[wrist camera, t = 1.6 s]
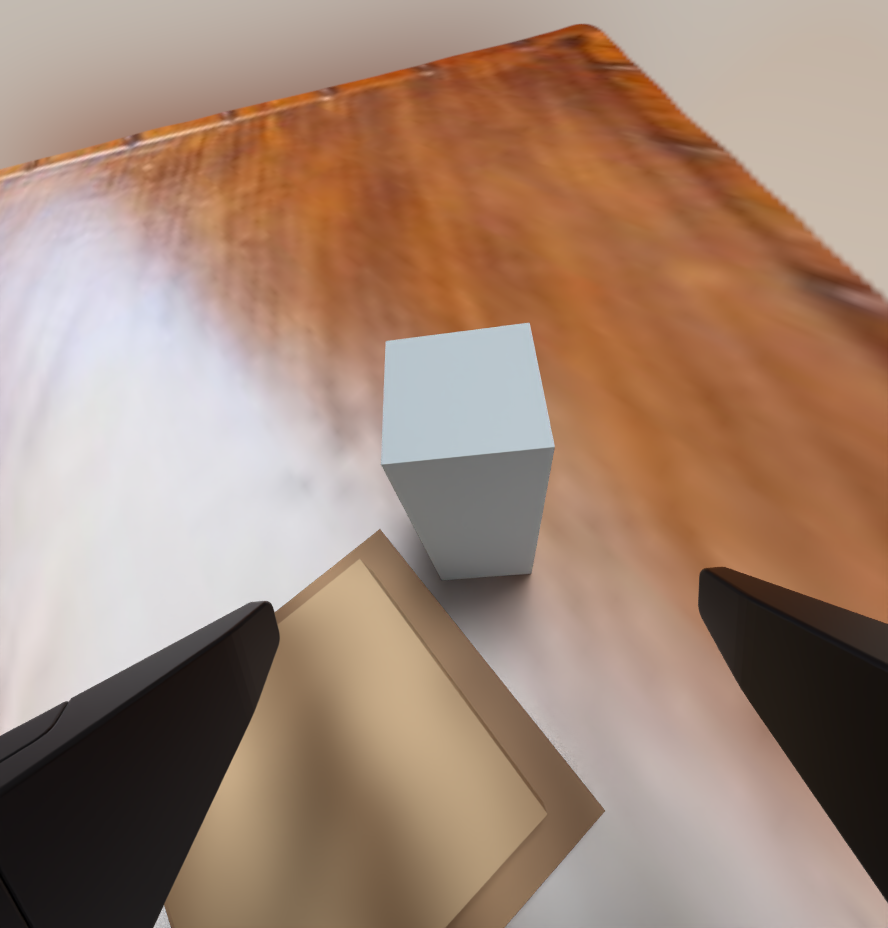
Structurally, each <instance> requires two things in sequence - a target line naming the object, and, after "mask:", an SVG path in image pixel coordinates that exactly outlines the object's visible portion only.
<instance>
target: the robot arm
mask: <svg viewBox="0 0 888 928" xmlns="http://www.w3.org/2000/svg"><path fill="white" fill-rule="evenodd" d="M698 607H699V612H700V615H701V617H702V619H703V621H704V623H705V625H706V627H707V629H708V630H709V632H710V634H711V636H712V638H713V639H714V641H715V643H716V645H717V647H718V649H719V650H720V652H721V654H722V656H723V658H724V660H725V661H726V663H727V665H728V667H729V669H730V670H731V672H732V674H733V676H734V678H735V679H736V681H737V683H738V684H739V686H740V688H741V689H742V691H743V692H744V694H745V695H746V697H747V699H748V700H749V702H750V703H751V704H752V706H753V707H754V709H755V710H756V712H757V713H758V715H759V716H760V718H761V719H762V720H763V722H764V723H765V725H766V726H767V728H768V729H769V731H770V732H771V734H772V735H773V736H774V738H775V739H776V741H777V742H778V744H779V745H780V747H781V748H782V750H783V751H784V753H785V754H786V755H787V757H788V758H789V760H790V761H791V763H792V764H793V766H794V767H795V769H796V770H797V771H798V773H799V774H800V776H801V777H802V779H803V780H804V782H805V783H806V785H807V786H808V787H809V789H810V790H811V792H812V793H813V795H814V796H815V798H816V799H817V801H818V802H819V803H820V805H821V806H822V808H823V809H824V811H825V812H826V814H827V815H828V817H829V818H830V820H831V821H832V822H833V824H834V825H835V827H836V828H837V830H838V831H839V833H840V834H841V836H842V837H843V838H844V840H845V841H846V843H847V844H848V846H849V847H850V849H851V850H852V852H853V853H854V854H855V856H856V857H857V859H858V860H859V862H860V863H861V865H862V866H863V868H864V869H865V870H866V872H867V873H868V875H869V876H870V878H871V879H872V881H873V882H874V884H875V885H876V887H877V888H878V889H879V891H880V892H881V894H882V895H883V897H884V898H885V900H886V901H887V903H888V624H886V623H883V622H880V621H878V620H875V619H872V618H869V617H866V616H863V615H860V614H858V613H855V612H852V611H849V610H846V609H843V608H840V607H838V606H835V605H832V604H829V603H826V602H823V601H820V600H818V599H815V598H812V597H809V596H806V595H803V594H800V593H798V592H795V591H792V590H789V589H786V588H783V587H780V586H778V585H775V584H772V583H769V582H766V581H763V580H760V579H758V578H755V577H752V576H749V575H746V574H743V573H740V572H738V571H735V570H732V569H729V568H726V567H713V568H704V569H703V570H702V571H701V572H700V576H699V597H698ZM279 642H280V633H279V628H278V625H277V621H276V617H275V613H274V609H273V606H272V604H271V603H270V602H268V601H258V602H250V603H248V604H246V605H244V606H242V607H241V608H239V609H237V610H235V611H233V612H231V613H229V614H227V615H226V616H224V617H222V618H220V619H218V620H216V621H214V622H213V623H211V624H209V625H207V626H205V627H203V628H201V629H200V630H198V631H196V632H194V633H192V634H190V635H188V636H186V637H185V638H183V639H181V640H179V641H177V642H175V643H173V644H172V645H170V646H168V647H166V648H164V649H162V650H160V651H159V652H157V653H155V654H153V655H151V656H149V657H147V658H145V659H144V660H142V661H140V662H138V663H136V664H134V665H132V666H131V667H129V668H127V669H125V670H123V671H121V672H119V673H118V674H116V675H114V676H112V677H110V678H108V679H106V680H104V681H103V682H101V683H99V684H97V685H95V686H93V687H91V688H90V689H88V690H86V691H84V692H82V693H80V694H78V695H77V696H75V697H73V698H71V699H70V701H69V702H68V701H66V702H63V703H61V704H60V705H58V706H56V707H54V708H52V709H50V710H48V711H47V712H45V713H43V714H41V715H39V716H37V717H35V718H33V719H31V720H29V721H28V722H26V723H24V724H22V725H20V726H18V727H16V728H14V729H12V730H10V731H9V732H7V733H5V734H3V735H1V736H0V928H153V927H154V925H155V923H156V921H157V919H158V916H159V914H160V912H161V910H162V908H163V906H164V904H165V902H166V899H167V897H168V895H169V893H170V891H171V889H172V887H173V885H174V882H175V880H176V878H177V876H178V874H179V872H180V870H181V868H182V865H183V863H184V861H185V859H186V857H187V855H188V853H189V851H190V849H191V846H192V844H193V842H194V840H195V838H196V836H197V834H198V832H199V829H200V827H201V825H202V823H203V821H204V819H205V817H206V815H207V812H208V810H209V808H210V806H211V804H212V802H213V800H214V798H215V795H216V793H217V791H218V789H219V787H220V785H221V783H222V781H223V778H224V776H225V774H226V772H227V770H228V768H229V766H230V764H231V762H232V759H233V757H234V755H235V753H236V751H237V749H238V747H239V745H240V742H241V740H242V738H243V736H244V734H245V732H246V730H247V728H248V725H249V723H250V721H251V719H252V716H253V714H254V712H255V709H256V707H257V704H258V702H259V699H260V696H261V694H262V691H263V688H264V685H265V682H266V680H267V677H268V674H269V671H270V668H271V666H272V663H273V660H274V657H275V654H276V652H277V649H278V646H279Z"/></svg>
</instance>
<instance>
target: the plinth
mask: <svg viewBox="0 0 888 928" xmlns="http://www.w3.org/2000/svg"><path fill="white" fill-rule="evenodd" d="M275 617H276V621H277V625H278V628H279V633H280V642H279V646H278V649H277V652H276V654H275V657H274V660H273V663H272V666H271V668H270V671H269V674H268V677H267V680H266V682H265V685H264V688H263V691H262V694H261V696H260V699H259V702H258V704H257V707H256V709H255V712H254V714H253V716H252V719H251V721H250V723H249V725H248V728H247V730H246V732H245V734H244V736H243V738H242V740H241V742H240V745H239V747H238V749H237V751H236V753H235V755H234V757H233V759H232V762H231V764H230V766H229V768H228V770H227V772H226V774H225V776H224V778H223V781H222V783H221V785H220V787H219V789H218V791H217V793H216V795H215V798H214V800H213V802H212V804H211V806H210V808H209V810H208V812H207V815H206V817H205V819H204V821H203V823H202V825H201V827H200V829H199V832H198V834H197V836H196V838H195V840H194V842H193V844H192V846H191V849H190V851H189V853H188V855H187V857H186V859H185V861H184V863H183V865H182V868H181V870H180V872H179V874H178V876H177V878H176V880H175V882H174V885H173V887H172V889H171V891H170V893H169V895H168V897H167V899H166V902H165V904H164V906H165V909H166V912H167V916H168V919H169V922H170V926H171V928H504V927H505V926H506V925H507V924H508V923H509V922H510V920H511V919H512V918H513V917H514V916H515V915H516V914H517V912H518V911H519V910H520V909H521V908H522V907H523V905H524V904H525V903H526V902H527V901H528V900H529V898H530V897H531V896H532V895H533V894H534V893H535V892H536V890H537V889H538V888H539V887H540V886H541V885H542V883H543V882H544V881H545V880H546V879H547V878H548V876H549V875H550V874H551V873H552V872H553V871H554V870H555V868H556V867H557V866H558V865H559V864H560V863H561V861H562V860H563V859H564V858H565V857H566V856H567V854H568V853H569V852H570V851H571V850H572V849H573V848H574V846H575V845H576V844H577V843H578V842H579V841H580V839H581V838H582V837H583V836H584V835H585V834H586V832H587V831H588V830H589V829H590V828H591V827H592V826H593V824H594V823H595V822H596V821H597V820H598V819H599V817H600V816H601V815H602V814H603V813H604V812H605V810H604V809H603V807H602V806H601V805H600V804H599V802H598V801H597V800H596V799H595V797H594V796H593V795H592V794H591V792H590V791H589V790H588V789H587V787H586V786H585V785H584V784H583V782H582V781H581V780H580V779H579V777H578V776H577V775H576V774H575V772H574V771H573V770H572V769H571V767H570V766H569V765H568V764H567V762H566V761H565V760H564V759H563V757H562V756H561V755H560V754H559V752H558V751H557V750H556V749H555V747H554V746H553V745H552V744H551V742H550V741H549V740H548V739H547V737H546V736H545V735H544V734H543V732H542V731H541V730H540V729H539V727H538V726H537V725H536V724H535V722H534V721H533V720H532V719H531V717H530V716H529V715H528V714H527V712H526V711H525V710H524V709H523V707H522V706H521V705H520V704H519V702H518V701H517V700H516V699H515V697H514V696H513V695H512V694H511V692H510V691H509V690H508V689H507V687H506V686H505V685H504V684H503V682H502V681H501V680H500V679H499V677H498V676H497V675H496V674H495V672H494V671H493V670H492V669H491V667H490V666H489V665H488V664H487V662H486V661H485V660H484V659H483V657H482V656H481V655H480V654H479V652H478V651H477V650H476V649H475V647H474V646H473V645H472V644H471V642H470V641H469V640H468V639H467V637H466V636H465V635H464V634H463V632H462V631H461V630H460V629H459V627H458V626H457V625H456V624H455V622H454V621H453V620H452V618H451V617H450V616H449V615H448V613H447V612H446V611H445V610H444V608H443V607H442V606H441V605H440V603H439V602H438V601H437V600H436V598H435V597H434V596H433V595H432V593H431V592H430V591H429V590H428V588H427V587H426V586H425V585H424V583H423V582H422V581H421V580H420V578H419V577H418V576H417V575H416V573H415V572H414V571H413V570H412V568H411V567H410V566H409V565H408V563H407V562H406V561H405V560H404V558H403V557H402V556H401V555H400V553H399V552H398V551H397V550H396V548H395V547H394V546H393V545H392V543H391V542H390V541H389V540H388V538H387V537H386V536H385V535H384V533H383V532H382V531H381V530H380V529H379V530H378V531H377V532H376V533H374V534H373V535H372V536H371V537H369V538H368V539H367V540H366V541H364V542H363V543H362V544H360V545H359V546H358V547H357V548H355V549H354V550H353V551H352V552H350V553H349V554H348V555H347V556H345V557H344V558H343V559H342V560H340V561H339V562H338V563H337V564H335V565H334V566H333V567H332V568H330V569H329V570H328V571H326V572H325V573H324V574H323V575H321V576H320V577H319V578H318V579H316V580H315V581H314V582H313V583H311V584H310V585H309V586H308V587H306V588H305V589H304V590H303V591H301V592H300V593H299V594H297V595H296V596H295V597H294V598H292V599H291V600H290V601H289V602H287V603H286V604H285V605H284V606H282V607H281V608H280V609H279V610H277V611H276V612H275Z"/></svg>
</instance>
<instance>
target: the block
mask: <svg viewBox="0 0 888 928" xmlns="http://www.w3.org/2000/svg"><path fill="white" fill-rule="evenodd" d="M554 448H555V446H554V441H553V436H552V431H551V426H550V421H549V416H548V411H547V407H546V402H545V397H544V392H543V387H542V382H541V377H540V372H539V367H538V362H537V357H536V352H535V347H534V343H533V338H532V333H531V328H530V323H524V324H516V325H508V326H501V327H493V328H485V329H477V330H469V331H462V332H454V333H446V334H438V335H431V336H423V337H415V338H407V339H400V340H392V341H386V350H385V376H384V403H383V429H382V456H381V465H382V467H383V469H384V471H385V473H386V475H387V477H388V479H389V481H390V482H391V484H392V486H393V488H394V490H395V492H396V494H397V496H398V498H399V500H400V502H401V503H402V505H403V507H404V509H405V511H406V513H407V515H408V517H409V519H410V521H411V523H412V524H413V526H414V528H415V530H416V532H417V534H418V536H419V538H420V540H421V542H422V544H423V545H424V547H425V549H426V551H427V553H428V555H429V557H430V559H431V561H432V563H433V565H434V566H435V568H436V570H437V572H438V574H439V576H440V578H441V580H453V579H467V578H480V577H493V576H506V575H520V574H531V573H532V567H533V562H534V556H535V551H536V546H537V540H538V535H539V529H540V524H541V519H542V513H543V508H544V502H545V497H546V491H547V486H548V481H549V475H550V470H551V464H552V459H553V453H554Z"/></svg>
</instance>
